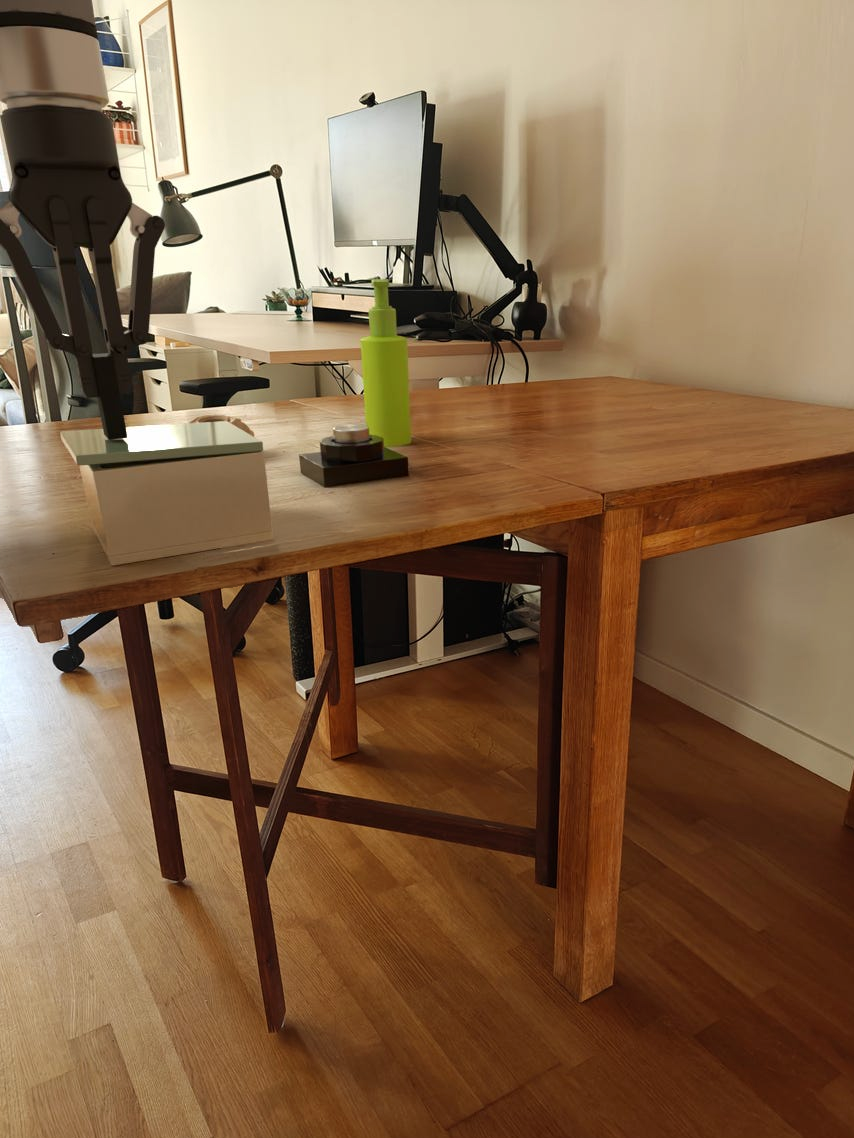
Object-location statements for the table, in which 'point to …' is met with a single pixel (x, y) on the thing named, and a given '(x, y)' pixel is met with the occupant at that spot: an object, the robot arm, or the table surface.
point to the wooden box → (177, 505)
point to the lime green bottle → (385, 373)
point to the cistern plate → (352, 463)
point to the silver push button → (351, 434)
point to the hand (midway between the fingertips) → (115, 435)
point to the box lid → (159, 442)
